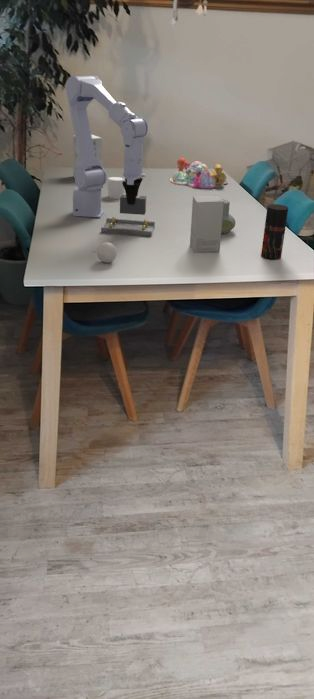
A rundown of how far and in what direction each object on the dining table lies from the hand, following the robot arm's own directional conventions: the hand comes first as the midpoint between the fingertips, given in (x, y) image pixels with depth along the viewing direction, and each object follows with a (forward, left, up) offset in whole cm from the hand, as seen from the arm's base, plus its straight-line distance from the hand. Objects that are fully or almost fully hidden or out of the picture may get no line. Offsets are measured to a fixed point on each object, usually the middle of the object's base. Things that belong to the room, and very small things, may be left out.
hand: (131, 202), depth 206 cm
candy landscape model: (+20, +73, -9) cm, 76 cm away
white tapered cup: (-11, +38, -9) cm, 41 cm away
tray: (-1, -2, -8) cm, 9 cm away
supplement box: (-27, +65, -9) cm, 71 cm away
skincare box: (+24, -16, -9) cm, 30 cm away
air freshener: (+28, +4, -9) cm, 30 cm away
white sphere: (-4, -34, -9) cm, 35 cm away
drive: (0, 0, -3) cm, 3 cm away
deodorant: (+44, -18, -9) cm, 49 cm away
